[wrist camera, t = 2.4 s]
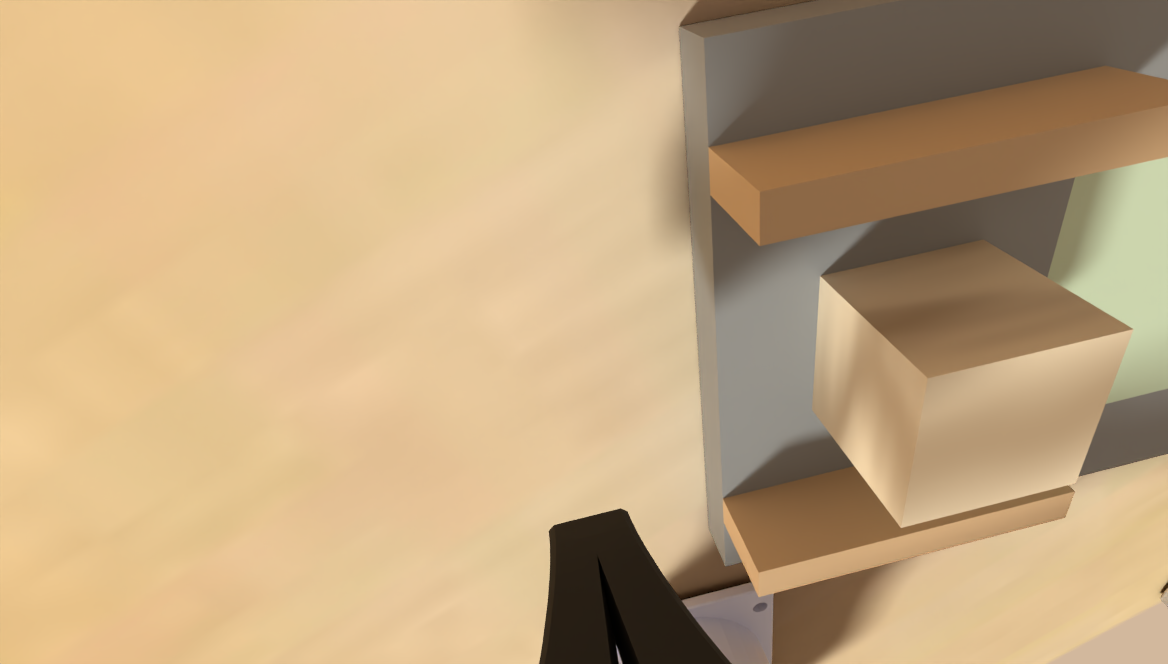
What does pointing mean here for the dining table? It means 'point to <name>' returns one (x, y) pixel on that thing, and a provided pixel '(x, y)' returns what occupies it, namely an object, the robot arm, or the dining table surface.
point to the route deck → (909, 231)
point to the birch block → (961, 378)
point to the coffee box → (1165, 597)
